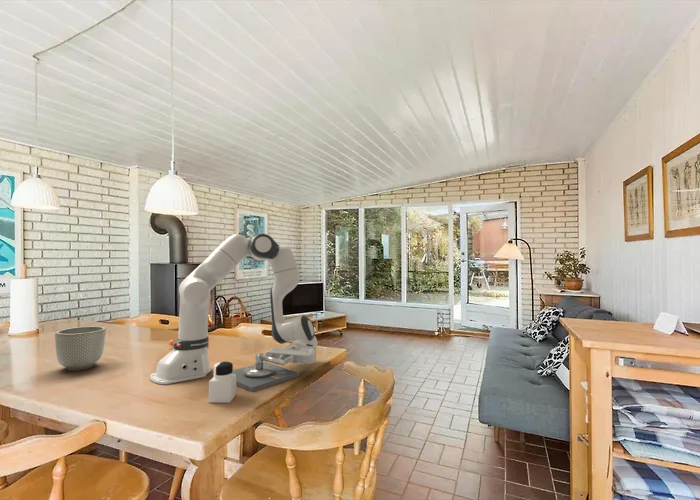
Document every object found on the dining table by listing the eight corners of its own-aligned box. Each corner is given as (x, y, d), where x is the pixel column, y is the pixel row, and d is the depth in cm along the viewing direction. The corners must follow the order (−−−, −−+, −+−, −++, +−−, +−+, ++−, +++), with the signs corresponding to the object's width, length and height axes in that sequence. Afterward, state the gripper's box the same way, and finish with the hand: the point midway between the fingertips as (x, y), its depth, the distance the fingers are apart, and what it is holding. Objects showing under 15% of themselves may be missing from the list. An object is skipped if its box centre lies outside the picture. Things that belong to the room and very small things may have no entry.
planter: (114, 363, 158) (115, 327, 158) (75, 376, 142) (76, 335, 142) (84, 360, 163) (85, 324, 163) (43, 372, 146) (44, 332, 146)
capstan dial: (237, 373, 142) (237, 355, 142) (260, 366, 152) (260, 348, 152) (273, 384, 131) (273, 364, 131) (295, 375, 140) (295, 356, 141)
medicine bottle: (236, 394, 125) (236, 360, 125) (230, 403, 118) (230, 366, 118) (215, 394, 125) (216, 359, 125) (208, 403, 118) (208, 366, 118)
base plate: (251, 391, 128) (251, 387, 128) (219, 377, 142) (219, 373, 142) (298, 376, 144) (298, 372, 145) (265, 365, 159) (265, 361, 159)
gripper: (274, 342, 155) (258, 350, 141) (319, 346, 149) (306, 355, 136) (274, 357, 154) (257, 366, 141) (319, 361, 149) (306, 371, 136)
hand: (282, 361), depth 138 cm, fingers closed
